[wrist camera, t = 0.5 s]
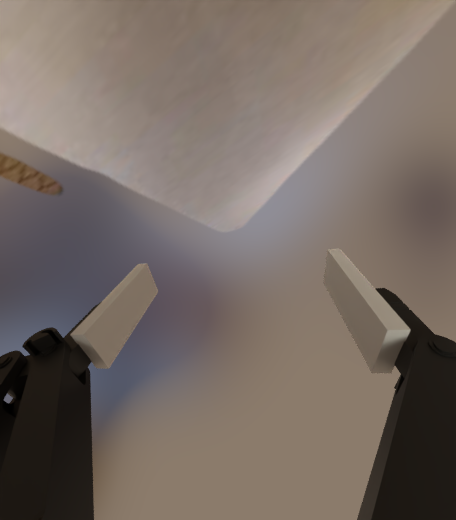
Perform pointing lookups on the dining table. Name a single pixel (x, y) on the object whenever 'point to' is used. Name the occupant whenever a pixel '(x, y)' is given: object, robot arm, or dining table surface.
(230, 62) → the dining table surface
